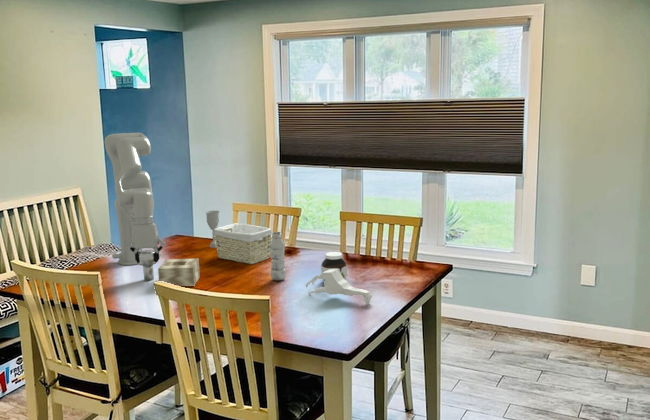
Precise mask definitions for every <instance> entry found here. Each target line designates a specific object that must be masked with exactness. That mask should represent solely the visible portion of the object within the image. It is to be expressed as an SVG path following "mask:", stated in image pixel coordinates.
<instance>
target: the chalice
mask: <svg viewBox="0 0 650 420" xmlns="http://www.w3.org/2000/svg"><path fill="white" fill-rule="evenodd" d="M204 212H205V214H206V223H207V225H208V228H209V229H210V230H212V241H211V242H210V244H209V248H217V246H216V240H215V235H214V229H216V228H218V225H219V222H220V216H219V215H220V211H219V210H208V211H204Z"/></svg>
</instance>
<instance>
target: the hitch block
mask: <svg viewBox="0 0 650 420" xmlns="http://www.w3.org/2000/svg"><path fill="white" fill-rule="evenodd" d="M199 259H200V258H198V257H197V258H177V259H176V258H175V259H172V258H171V259H167V258H166V259H164V261H163V262H162V263H161V264H160V266H159V267H157V271H158V282H159V281H164V282H167V283H171V284H174V285H179V286H194V287H195V286H196V285H195V284H197V283H198V281H199V279H200V277H201V274H200V273H201V271H200V260H199ZM196 282H197V283H196Z"/></svg>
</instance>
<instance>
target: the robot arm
mask: <svg viewBox="0 0 650 420" xmlns="http://www.w3.org/2000/svg"><path fill="white" fill-rule="evenodd" d="M104 147H105V151H106V153H107V155H108V157H109V159H110V161H111V164H112V165H111V166H112V171H113V178H114V179H113V181H114V192H115V195H116V198H115V199H114V209H115V212H116V217H117V223H118V232H119V244H120V252H119V253H112V254H111V256H112V259H113V260H114V259H118V264H119V265H121V266H122V265H123V266H133V265H134V266H135V265H139V256H138V252H140V251H143V249H152V250H154V251H155V254H154V255H155V262H156V263H158V262H159V260H160V251H161V250H162V249H163V248H164V247H165V246H166V244H167V243H166V242H165V241H164V240H163V239H162V238H160V236H159V232H158V228H157V225H156V224H157V223H156V222H154V221H155V220H154V218H155V217H154V210H155V199H154V193H153V188H152V187H153V186H152V180H151V176H150V174H149V173H148V172H147V171H146V170H142V168H143V167H142V166H143V165H142V162H141V158H140V157H145V156H149V155H151V151H152V146H151V141H150V140H149V138H148V137H147V136H146V135H145V134H143V133H142V132H122V133H121V132H120V133H111V134H109V135H107V136H106V137H105V138H104ZM159 244H161V245H160V246H158V245H159Z"/></svg>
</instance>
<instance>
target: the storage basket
mask: <svg viewBox="0 0 650 420" xmlns="http://www.w3.org/2000/svg"><path fill="white" fill-rule="evenodd" d="M272 234H273V232H272V229H271V228H269V227H264V226H259V225H253V224H248V223H236V222H235V223H231V224H227V225H224V226H220V227H217V228H216V229H214V235H215V241H216V246H217V247H216V253H217V258H219V259H224V260H228V261H234V262H237V263H244V264H249V265H253V264H254V265H255V264H257V263H259V262H263V261H266V260H268V259H269V258H271V252H270V243H271V241H272Z"/></svg>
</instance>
